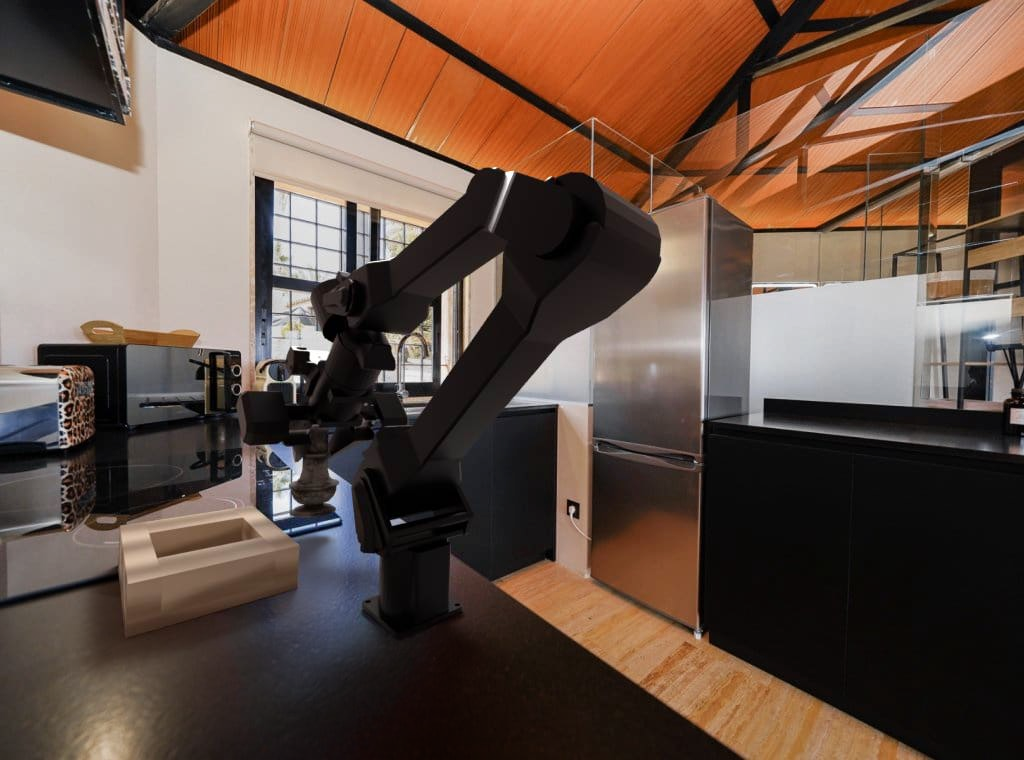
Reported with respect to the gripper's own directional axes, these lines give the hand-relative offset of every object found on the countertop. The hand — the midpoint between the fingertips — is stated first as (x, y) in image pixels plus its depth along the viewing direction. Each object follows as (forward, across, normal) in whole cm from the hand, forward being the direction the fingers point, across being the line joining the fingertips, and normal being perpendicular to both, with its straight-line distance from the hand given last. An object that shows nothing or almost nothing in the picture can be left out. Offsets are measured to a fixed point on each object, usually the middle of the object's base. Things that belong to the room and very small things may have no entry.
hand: (311, 457), depth 54 cm
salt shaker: (+4, 0, +6) cm, 7 cm away
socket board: (+2, +12, +11) cm, 17 cm away
